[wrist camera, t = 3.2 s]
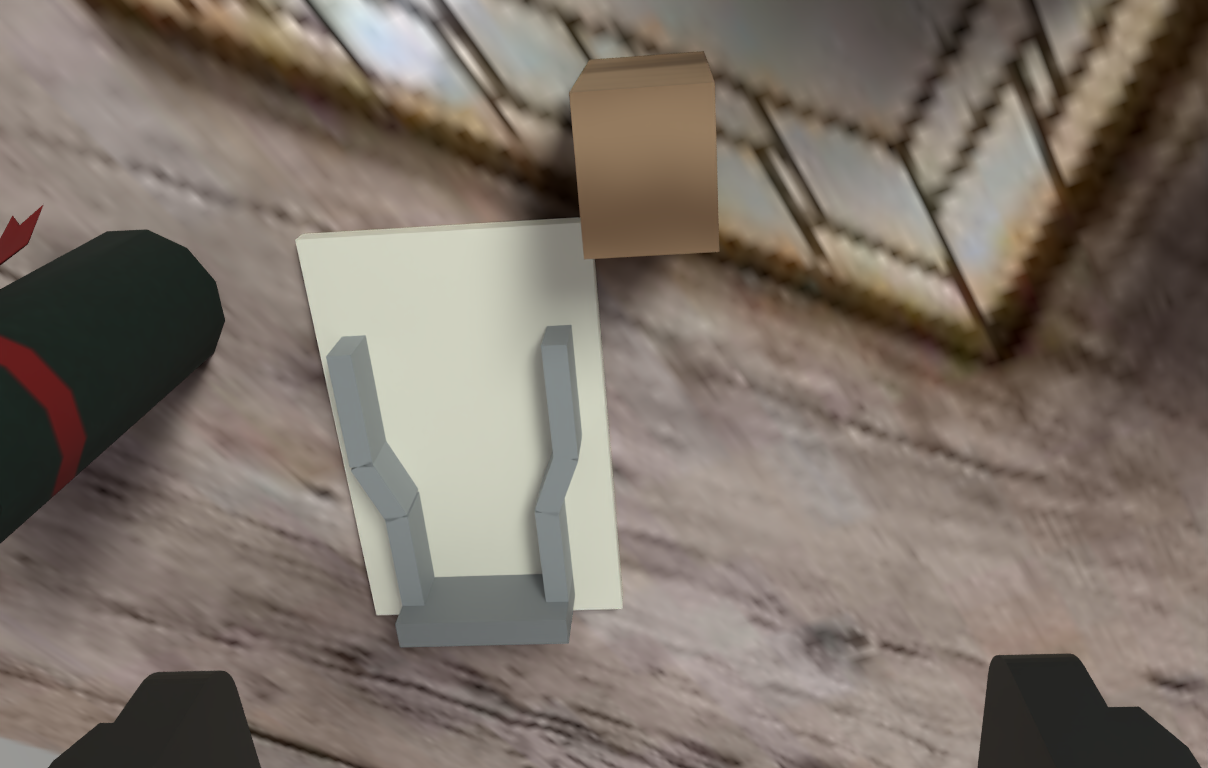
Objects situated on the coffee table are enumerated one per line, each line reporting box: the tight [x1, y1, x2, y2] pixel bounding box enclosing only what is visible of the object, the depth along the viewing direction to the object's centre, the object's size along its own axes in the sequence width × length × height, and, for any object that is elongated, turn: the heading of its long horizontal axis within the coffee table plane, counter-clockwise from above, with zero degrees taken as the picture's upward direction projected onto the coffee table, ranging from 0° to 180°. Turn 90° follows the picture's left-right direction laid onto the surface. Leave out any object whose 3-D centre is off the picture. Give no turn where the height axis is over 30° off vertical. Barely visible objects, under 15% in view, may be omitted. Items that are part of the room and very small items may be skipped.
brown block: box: [569, 51, 719, 259], centre depth 39 cm, size 6×5×10 cm
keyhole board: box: [295, 217, 623, 647], centre depth 48 cm, size 22×14×5 cm, turn 4°
